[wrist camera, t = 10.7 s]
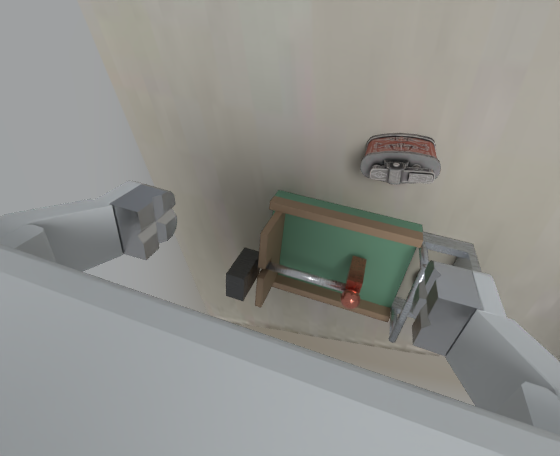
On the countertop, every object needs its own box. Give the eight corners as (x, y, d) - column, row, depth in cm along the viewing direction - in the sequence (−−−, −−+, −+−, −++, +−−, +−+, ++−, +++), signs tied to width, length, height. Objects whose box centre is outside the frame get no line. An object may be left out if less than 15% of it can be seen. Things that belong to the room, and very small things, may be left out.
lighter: (365, 157, 42) (356, 189, 34) (368, 131, 41) (358, 159, 33) (432, 161, 40) (439, 196, 32) (438, 134, 38) (446, 163, 30)
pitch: (422, 224, 45) (425, 269, 37) (388, 304, 54) (385, 354, 46) (278, 190, 49) (253, 223, 41) (270, 269, 58) (248, 308, 50)
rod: (368, 259, 47) (360, 315, 38) (362, 280, 49) (352, 336, 40) (257, 229, 50) (226, 273, 42) (256, 249, 53) (226, 295, 44)
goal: (473, 244, 44) (485, 285, 37) (435, 313, 52) (439, 357, 45) (419, 230, 45) (422, 268, 38) (390, 300, 53) (388, 341, 46)
